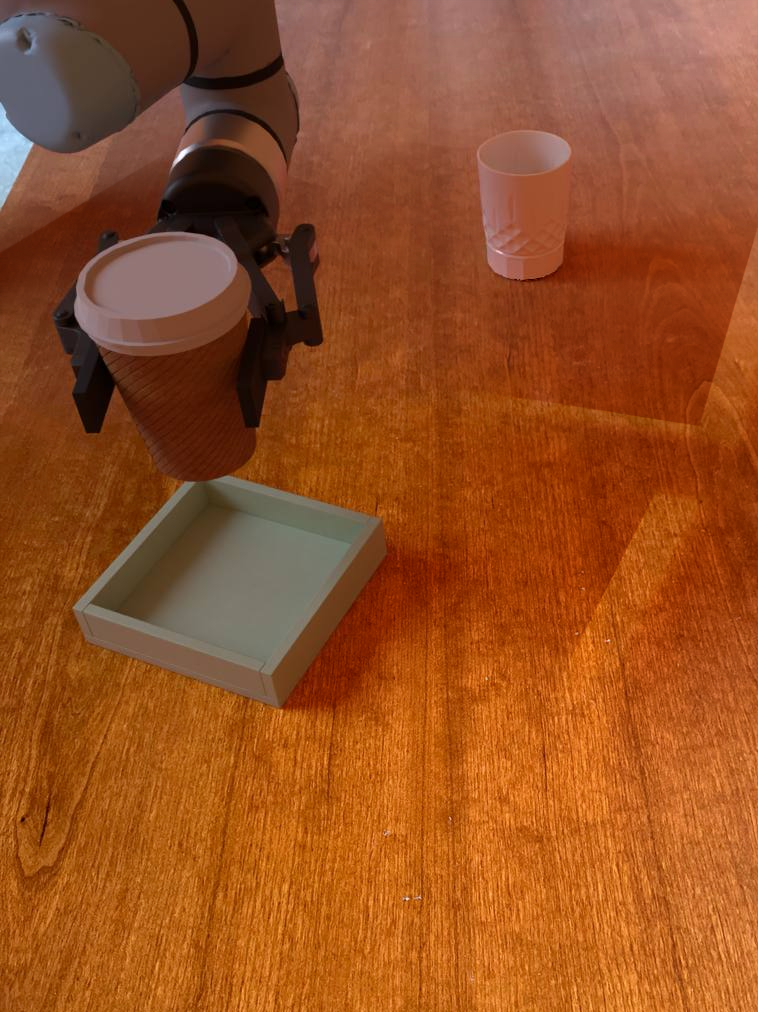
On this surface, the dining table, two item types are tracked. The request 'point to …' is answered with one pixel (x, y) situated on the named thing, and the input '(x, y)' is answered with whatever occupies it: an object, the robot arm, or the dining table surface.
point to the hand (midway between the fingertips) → (166, 410)
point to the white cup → (524, 201)
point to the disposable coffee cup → (174, 346)
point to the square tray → (234, 585)
